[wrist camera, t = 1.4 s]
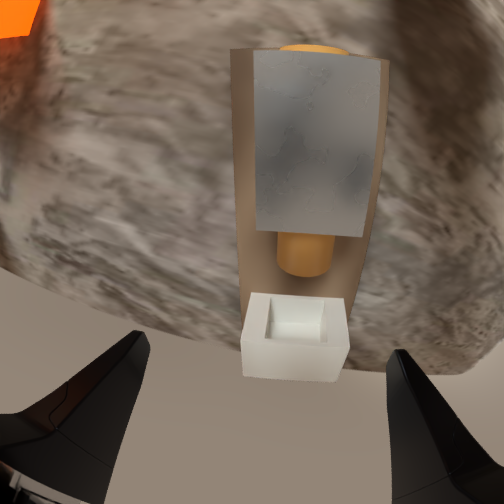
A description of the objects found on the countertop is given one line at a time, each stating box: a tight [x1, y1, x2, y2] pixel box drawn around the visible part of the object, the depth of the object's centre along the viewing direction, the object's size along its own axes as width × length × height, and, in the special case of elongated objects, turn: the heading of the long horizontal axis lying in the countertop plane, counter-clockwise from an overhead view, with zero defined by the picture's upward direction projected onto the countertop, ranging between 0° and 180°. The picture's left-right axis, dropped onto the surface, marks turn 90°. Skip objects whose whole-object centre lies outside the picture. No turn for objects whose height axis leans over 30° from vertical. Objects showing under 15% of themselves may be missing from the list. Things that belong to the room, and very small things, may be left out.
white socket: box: [240, 292, 350, 382], centre depth 23 cm, size 8×5×5 cm, turn 91°
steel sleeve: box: [253, 50, 381, 237], centre depth 14 cm, size 6×9×5 cm, turn 1°
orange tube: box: [277, 45, 349, 277], centre depth 15 cm, size 4×13×4 cm, turn 1°
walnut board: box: [230, 48, 389, 330], centre depth 20 cm, size 10×24×1 cm, turn 1°
